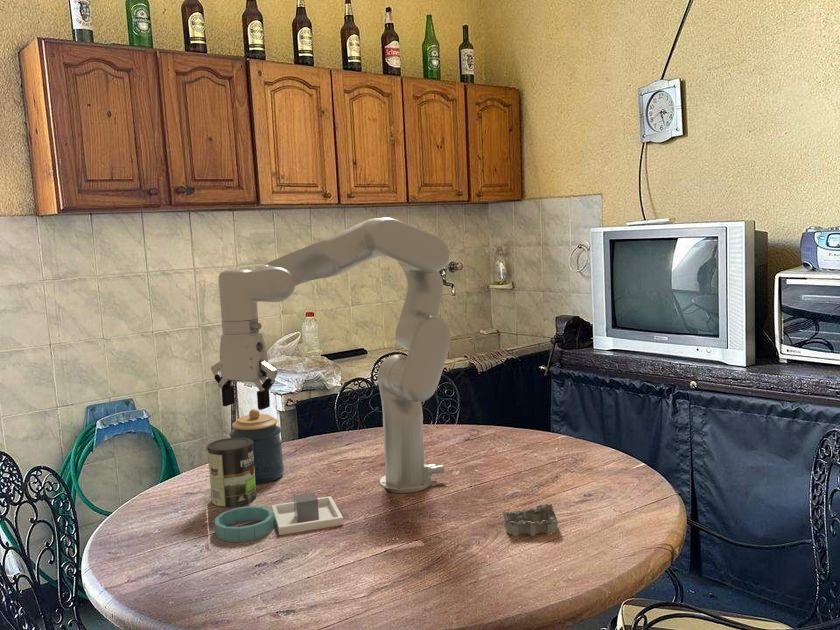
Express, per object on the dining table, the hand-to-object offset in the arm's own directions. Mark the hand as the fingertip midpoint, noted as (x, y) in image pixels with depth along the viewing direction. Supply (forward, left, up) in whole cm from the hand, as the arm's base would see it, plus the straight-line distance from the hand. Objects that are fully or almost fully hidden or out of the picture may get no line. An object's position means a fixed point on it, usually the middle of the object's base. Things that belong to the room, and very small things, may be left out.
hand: (246, 406), depth 156 cm
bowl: (+3, +8, -25) cm, 26 cm away
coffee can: (+4, -11, -25) cm, 27 cm away
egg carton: (-53, +29, -25) cm, 65 cm away
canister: (-4, -27, -25) cm, 37 cm away
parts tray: (-11, +7, -25) cm, 28 cm away
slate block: (-11, +7, -24) cm, 27 cm away
